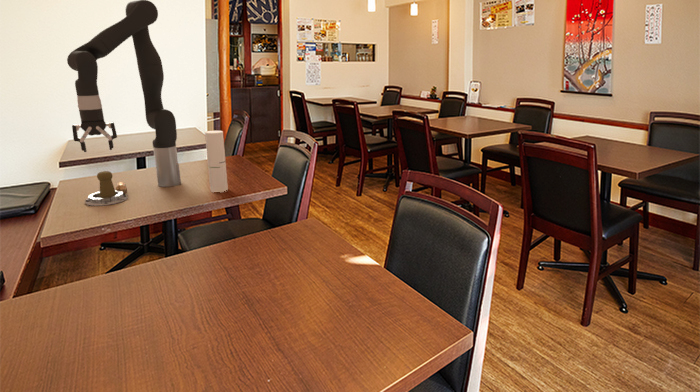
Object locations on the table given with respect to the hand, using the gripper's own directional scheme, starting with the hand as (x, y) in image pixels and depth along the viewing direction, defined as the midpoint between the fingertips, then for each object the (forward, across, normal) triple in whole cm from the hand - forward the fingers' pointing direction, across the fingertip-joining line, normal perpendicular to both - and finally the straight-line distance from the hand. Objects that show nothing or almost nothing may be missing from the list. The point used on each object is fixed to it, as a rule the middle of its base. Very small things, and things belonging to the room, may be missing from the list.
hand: (98, 150), depth 166 cm
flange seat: (+20, 0, 0) cm, 20 cm away
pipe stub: (+20, -5, -9) cm, 23 cm away
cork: (+20, -1, 0) cm, 20 cm away
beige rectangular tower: (+20, -42, +6) cm, 47 cm away
